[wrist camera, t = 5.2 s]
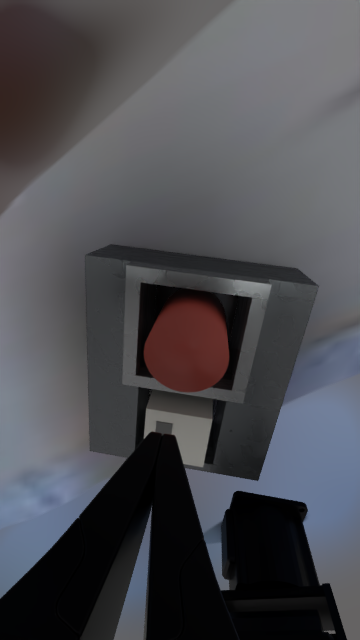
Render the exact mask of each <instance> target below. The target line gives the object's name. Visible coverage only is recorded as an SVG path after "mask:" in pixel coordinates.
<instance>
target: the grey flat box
mask: <svg viewBox="0 0 360 640" xmlns="http://www.w3.org/2000/svg"><path fill="white" fill-rule="evenodd" d="M85 277H86V316H87V356H88V396H89V436H90V451H93V452H98V453H104V454H110V455H115V456H121V457H127V458H128V457H129V456H130V455H131V454H132V453H133V451H134V450H135V449H136V448H137V447H138V446H139V444H140V443H141V442H142V441H143V440H144V430H145V417H146V407H147V404H148V396H149V389H155V390H161V391H167V392H174V393H180V394H186V395H192V396H199V397H205V398H211V399H217V400H218V402H217V407H216V412H215V417H214V422H213V423H212V424H211V430H210V435H209V440H208V445H207V450H206V455H205V460H204V465H203V467H198V466H192V465H186V464H184V468H189V469H195V470H201V471H207V472H211V473H217V474H223V475H229V476H234V477H240V478H245V479H251V480H257V481H258V480H259V476H260V473H261V470H262V467H263V463H264V460H265V457H266V454H267V451H268V448H269V444H270V441H271V438H272V435H273V431H274V428H275V425H276V422H277V419H278V415H279V412H280V409H281V406H282V403H283V399H284V396H285V393H286V390H287V387H288V383H289V380H290V377H291V374H292V371H293V367H294V364H295V361H296V358H297V355H298V351H299V348H300V345H301V342H302V339H303V335H304V332H305V329H306V326H307V323H308V319H309V316H310V313H311V310H312V307H313V303H314V300H315V297H316V294H317V291H318V287H319V286H318V285H317V284H316V283H314V282H313V281H312V280H311V279H310V278H308V277H307V276H306V275H305V274H303V273H302V272H301V271H300V270H298V269H296V268H288V267H281V266H273V265H265V264H258V263H250V262H242V261H234V260H227V259H219V258H211V257H203V256H196V255H188V254H180V253H172V252H165V251H157V250H149V249H142V248H134V247H126V246H118V245H108V246H106V247H103V248H101V249H99V250H96V251H94V252H91V253H89V254H86V255H85ZM157 285H164V286H171V287H179V288H186V289H193V290H201V291H208V292H215V293H223V294H230V295H237V296H238V301H237V306H236V311H235V316H234V321H233V326H232V331H231V336H230V341H229V346H228V348H229V364H228V367H227V370H226V372H225V374H224V375H223V377H222V378H221V379H220V380H219V381H218V382H217V383H216V384H215V385H213V386H212V387H210V388H208V389H205V390H202V391H198V392H180V391H175V390H172V389H170V388H168V387H166V386H164V385H162V384H161V383H160V382H158V381H157V380H156V379H155V378H154V377H153V376H152V375H151V373H150V372H149V370H148V368H147V366H146V363H145V359H144V346H145V343H146V340H147V338H148V336H149V334H150V332H151V330H152V328H153V326H154V319H155V306H156V293H157Z"/></svg>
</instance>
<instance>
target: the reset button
mask: <svg viewBox="0 0 360 640" xmlns="http://www.w3.org/2000/svg"><path fill="white" fill-rule="evenodd" d="M144 359H145V363H146V366H147V368H148V370H149V372H150V373H151V375H152V376H153V377H154V378H155V379H156V380H157V381H158V382H160V383H161V384H162V385H164V386H166V387H168V388H170V389H172V390H175V391H180V392H198V391H202V390H205V389H208V388H210V387H212V386H213V385H215V384H216V383H217V382H218V381H219V380H220V379H221V378H222V377H223V375H224V374H225V372H226V370H227V367H228V364H229V348H228V337H227V326H226V315H225V310H224V307H223V305H222V303H221V302H220V300H219V299H218V298H217V297H216V296H215V295H214V294H212V293H211V292H208V291H201V290H193V289H186V288H183V289H180V290H178V291H176V292H175V293H173V294H172V295H171V296H170V297H169V298H168V299H167V300H166V302H165V304H164V306H163V308H162V310H161V312H160V314H159V316H158V318H157V320H156V322H155V324H154V326H153V328H152V330H151V332H150V334H149V336H148V338H147V340H146V343H145V346H144Z"/></svg>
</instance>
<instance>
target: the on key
mask: <svg viewBox="0 0 360 640" xmlns="http://www.w3.org/2000/svg"><path fill="white" fill-rule="evenodd" d="M212 417H213V399H211V398H205V397H199V396H192V395H186V394H180V393H174V392H167V391H161V390H155V389H152V392H151V395H150V398H149V401H148V404H147V407H146V417H145V430H144V438H145V437H146V436H147V435H148V434H149V433H150V432H159V433H162V435H163V434H172V435H175V436H176V439H177V442H178V446H179V450H180V453H181V457H182V460H183V464H186V465H192V466H198V467H203V465H204V460H205V455H206V450H207V445H208V440H209V435H210V430H211V424H212Z"/></svg>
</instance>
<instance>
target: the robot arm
mask: <svg viewBox="0 0 360 640" xmlns="http://www.w3.org/2000/svg"><path fill="white" fill-rule="evenodd" d="M151 507H152V515H151V531H150V547H149V561H148V578H147V593H146V609H145V626H144V640H347V638H346V635H345V632H344V629H343V625H342V622H341V619H340V616H339V612H338V609H337V606H336V603H335V599H334V596H333V593H332V589H331V587H330V584H329V583H325V584H322V585H320V584H319V581H318V577H317V573H316V570H315V566H314V562H313V559H312V555H311V551H310V548H309V544H308V540H307V537H306V534H305V530H304V526H303V521H304V518H305V516H306V514H307V512H308V509H307V506H306V504H305V503H303V502H298V501H293V500H286V499H281V498H276V497H270V496H265V495H259V494H254V493H248V492H243V491H236V492H234V494H233V498H232V502H231V505H230V509H227V510H226V511H225V515H224V519H223V522H222V526H221V537H222V575H223V577H224V578H225V579H227V580H229V587H230V590H222V591H221V590H220V588H219V585H218V582H217V580H216V577H215V573H214V570H213V567H212V564H211V560H210V557H209V553H208V550H207V547H206V543H205V540H204V536H203V532H202V529H201V525H200V522H199V518H198V515H197V511H196V507H195V504H194V500H193V496H192V493H191V489H190V486H189V482H188V478H187V475H186V471H185V468H184V464H183V460H182V457H181V453H180V450H179V446H178V442H177V439H176V436H175V435H172V434H163V435H162V433H159V432H150V433H149V434H148V435H147V436H146V437H145V438H144V440H143V441H142V442H141V443H140V444H139V446H138V447H137V448H136V449H135V450H134V451H133V453H132V454H131V455H130V456H129V457H128V459H127V460H126V461H125V462H124V463H123V464H122V466H121V467H120V468H119V469H118V470H117V472H116V473H115V474H114V475H113V476H112V478H111V479H110V480H109V481H108V482H107V483H106V485H105V486H104V487H103V488H102V489H101V491H100V492H99V493H98V494H97V495H96V497H95V498H94V499H93V500H92V501H91V502H90V504H89V505H88V506H87V507H86V508H85V510H84V511H83V512H82V513H81V514H80V516H79V518H77V519H76V520H75V521H74V522H73V524H72V525H71V526H70V527H69V528H68V530H67V531H66V532H65V533H64V534H63V535H62V536H61V537H60V539H59V540H58V541H57V542H56V543H55V544H54V545H53V546H52V548H51V549H50V550H49V551H48V552H47V553H46V554H45V555H44V556H43V557H42V558H41V559H40V560H39V561H38V562H37V563H36V564H35V565H34V566H33V567H32V568H31V569H30V570H29V571H28V572H27V573H26V574H25V575H24V576H23V577H22V578H21V579H20V580H19V581H18V582H17V583H16V584H15V585H14V586H13V587H12V588H11V589H10V590H9V591H8V592H7V593H6V594H5V595H4V596H3V597H2V598H1V599H0V640H113V639H114V636H115V632H116V629H117V625H118V622H119V618H120V615H121V611H122V608H123V605H124V601H125V598H126V594H127V591H128V587H129V584H130V580H131V577H132V574H133V570H134V566H135V563H136V560H137V556H138V553H139V549H140V546H141V543H142V539H143V536H144V532H145V528H146V525H147V522H148V518H149V514H150V511H151ZM327 630H335V632H336V634H329V633H328V632H324V631H327Z"/></svg>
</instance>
